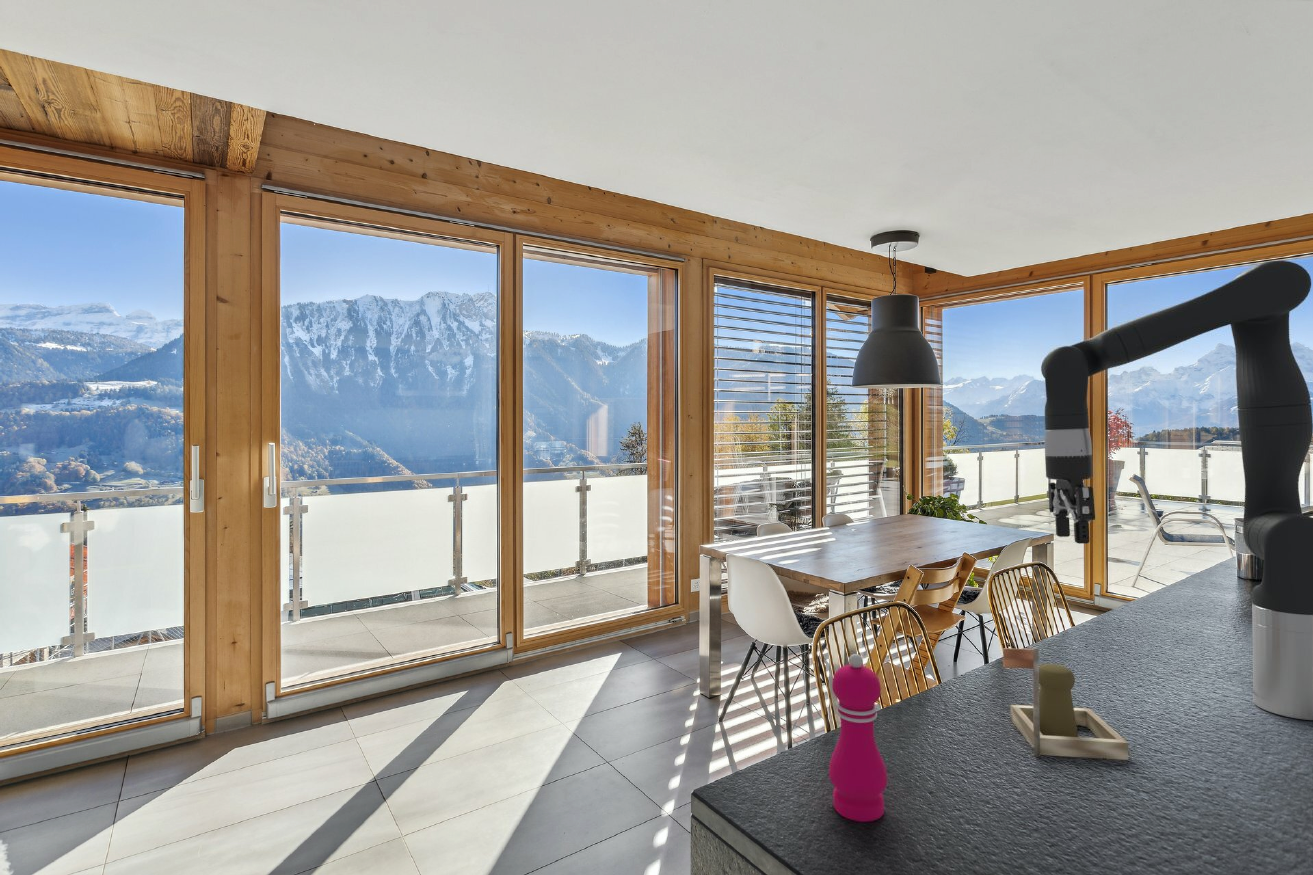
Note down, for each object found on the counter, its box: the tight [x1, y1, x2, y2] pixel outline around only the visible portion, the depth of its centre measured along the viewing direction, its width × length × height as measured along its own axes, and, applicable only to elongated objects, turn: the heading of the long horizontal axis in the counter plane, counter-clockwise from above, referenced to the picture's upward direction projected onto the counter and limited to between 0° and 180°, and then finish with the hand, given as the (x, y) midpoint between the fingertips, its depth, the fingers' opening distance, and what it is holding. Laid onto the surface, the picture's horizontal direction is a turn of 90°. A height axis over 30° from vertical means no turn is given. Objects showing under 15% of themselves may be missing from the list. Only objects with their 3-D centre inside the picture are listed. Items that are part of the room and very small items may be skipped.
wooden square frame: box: [1002, 646, 1129, 761], centre depth 104 cm, size 17×13×16 cm
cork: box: [1039, 663, 1079, 737], centre depth 105 cm, size 6×6×11 cm
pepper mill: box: [828, 653, 888, 823], centre depth 86 cm, size 7×7×20 cm
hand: (1072, 539), depth 125 cm, fingers open, 8 cm apart
